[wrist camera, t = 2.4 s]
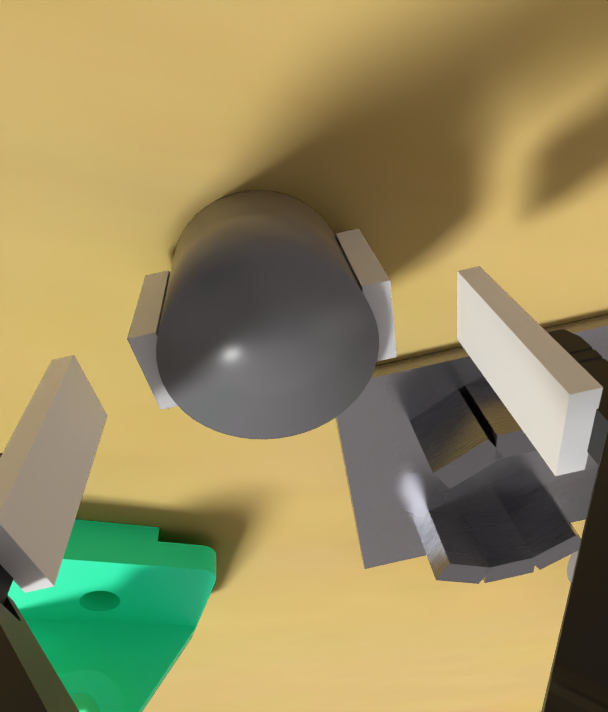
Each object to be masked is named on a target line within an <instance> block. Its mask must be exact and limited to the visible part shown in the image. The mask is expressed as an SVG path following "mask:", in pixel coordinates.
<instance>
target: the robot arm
mask: <svg viewBox="0 0 608 712" xmlns="http://www.w3.org/2000/svg"><path fill="white" fill-rule="evenodd" d="M457 339H458V341H459V342H460V343H461V345H462V346H463V348H464V349H465V350H466V352H467V353H468V355H469V356H470V357H471V359H472V360H473V362H474V363H475V364H476V366H477V367H478V369H479V370H480V371H481V373H482V374H483V376H484V377H485V378H486V380H487V381H488V383H489V384H490V385H491V387H492V388H493V390H494V391H495V392H496V394H497V395H498V397H499V398H500V399H501V401H502V402H503V404H504V405H505V406H506V408H507V409H508V411H509V412H510V413H511V415H512V416H513V418H514V419H515V420H516V422H517V423H518V425H519V426H520V427H521V429H522V430H523V432H524V433H525V434H526V436H527V437H528V439H529V440H530V441H531V443H532V444H533V445H534V447H535V448H536V450H537V451H538V452H539V454H540V455H541V457H542V458H543V459H544V461H545V462H546V464H547V465H548V466H549V468H550V469H551V471H552V472H553V473H554V475H555V476H558V475H563V474H567V473H572V472H577V471H581V470H585V466H586V462H587V457H588V453H589V455H590V456H591V457H592V458H593V459H594V461H595V462H596V463H597V464H598V469H597V473H596V477H595V482H594V486H593V490H592V495H591V499H590V504H589V508H588V512H587V517H586V521H585V525H584V530H583V534H582V538H581V543H580V547H579V551H578V556H577V560H576V564H575V569H574V573H573V577H572V582H571V586H570V590H569V595H568V599H567V603H566V608H565V612H564V616H563V621H562V625H561V629H560V634H559V638H558V642H557V647H556V651H555V655H554V660H553V664H552V668H551V672H550V677H549V681H548V685H547V690H546V694H545V698H544V703H543V707H542V711H541V712H608V361H607V360H606V359H605V358H602V356H601V355H600V354H599V353H598V352H597V351H596V350H593V349H592V347H591V346H590V345H589V344H588V343H587V342H586V341H585V340H584V339H583V338H581V337H580V336H578V335H576V334H573V333H571V332H569V331H567V330H565V329H560V330H555V331H551V332H546V331H545V330H544V329H543V328H542V327H541V326H540V325H539V324H538V323H537V322H536V321H535V320H534V319H533V318H532V317H531V316H530V315H529V314H528V313H527V312H526V311H525V310H524V309H523V308H522V307H521V306H520V305H519V304H518V303H517V302H516V301H515V300H514V299H513V298H512V297H511V296H510V295H509V294H508V293H507V292H505V291H504V290H503V289H502V288H501V287H500V286H499V285H498V284H497V283H496V282H495V281H494V280H493V279H492V278H491V277H490V276H489V275H488V274H487V273H486V272H485V271H484V270H483V269H482V268H481V267H480V266H479V267H474V268H470V269H465V270H461V271H457ZM106 419H107V414H106V412H105V410H104V408H103V407H102V405H101V403H100V401H99V399H98V398H97V396H96V394H95V392H94V390H93V388H92V387H91V385H90V383H89V381H88V379H87V378H86V376H85V374H84V372H83V370H82V368H81V367H80V365H79V363H78V361H77V359H76V358H75V356H74V355H73V356H68V357H64V358H59V359H55V360H52V361H51V363H50V365H49V366H48V368H47V370H46V372H45V374H44V376H43V378H42V380H41V382H40V384H39V385H38V387H37V389H36V391H35V393H34V395H33V397H32V399H31V401H30V402H29V404H28V406H27V408H26V410H25V412H24V414H23V416H22V418H21V420H20V421H19V423H18V425H17V427H16V429H15V431H14V433H13V435H12V437H11V438H10V440H9V442H8V444H7V446H6V448H5V450H4V452H3V453H0V712H79V710H78V708H77V707H76V705H75V703H74V702H73V700H72V698H71V697H70V695H69V693H68V692H67V690H66V688H65V687H64V685H63V683H62V681H61V680H60V678H59V676H58V675H57V673H56V671H55V670H54V668H53V666H52V665H51V663H50V661H49V660H48V658H47V656H46V655H45V653H44V651H43V649H42V648H41V646H40V644H39V643H38V641H37V639H36V638H35V636H34V634H33V633H32V631H31V629H30V628H29V626H28V624H27V623H26V621H25V619H24V617H23V616H22V614H21V612H20V611H19V609H18V607H17V606H16V604H15V602H14V601H13V600H12V599H11V598H10V597H9V596H8V592H9V590H10V587H11V584H12V582H13V581H14V582H15V583H16V584H17V585H18V586H19V587H20V588H21V589H22V590H23V591H24V592H25V593H26V592H30V591H35V590H39V589H44V588H48V587H53V586H54V585H55V582H56V579H57V576H58V573H59V569H60V566H61V563H62V560H63V557H64V553H65V550H66V547H67V544H68V541H69V537H70V534H71V531H72V528H73V525H74V521H75V518H76V515H77V512H78V509H79V505H80V502H81V499H82V496H83V493H84V489H85V486H86V483H87V480H88V476H89V473H90V470H91V467H92V464H93V460H94V457H95V454H96V451H97V448H98V444H99V441H100V438H101V435H102V432H103V428H104V425H105V422H106Z"/></svg>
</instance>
